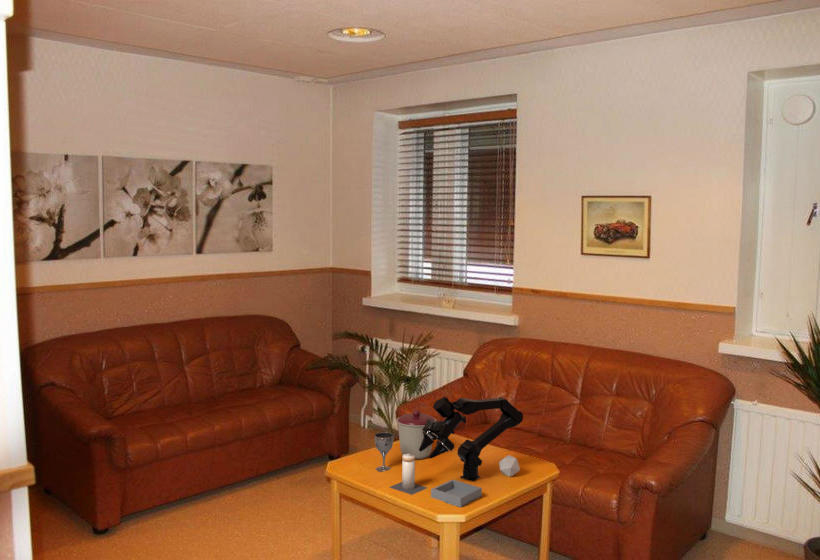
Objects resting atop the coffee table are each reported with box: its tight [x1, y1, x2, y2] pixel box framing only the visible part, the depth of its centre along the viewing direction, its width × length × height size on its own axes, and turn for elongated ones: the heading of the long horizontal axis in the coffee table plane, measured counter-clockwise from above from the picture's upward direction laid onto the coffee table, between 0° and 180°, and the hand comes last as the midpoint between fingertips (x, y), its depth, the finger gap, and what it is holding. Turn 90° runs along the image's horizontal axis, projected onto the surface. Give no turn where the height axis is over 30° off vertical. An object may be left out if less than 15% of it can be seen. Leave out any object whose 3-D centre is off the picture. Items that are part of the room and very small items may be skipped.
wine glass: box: [374, 431, 394, 473], centre depth 313 cm, size 8×8×15 cm
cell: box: [401, 453, 416, 490], centre depth 292 cm, size 5×5×14 cm
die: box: [498, 454, 521, 477], centre depth 309 cm, size 8×9×10 cm
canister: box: [395, 409, 437, 460], centre depth 331 cm, size 18×18×21 cm
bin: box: [430, 479, 483, 508], centre depth 283 cm, size 14×14×4 cm
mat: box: [388, 481, 428, 496], centre depth 292 cm, size 10×12×1 cm
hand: (424, 454), depth 294 cm, fingers open, 9 cm apart
